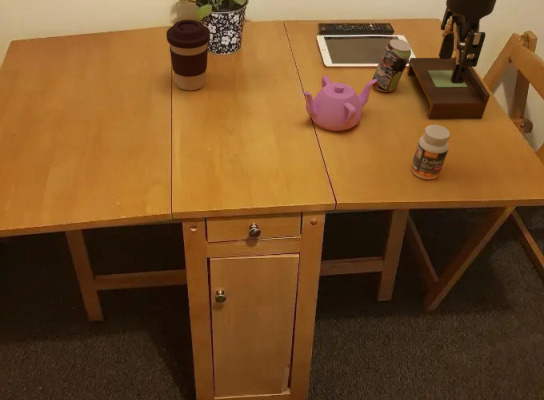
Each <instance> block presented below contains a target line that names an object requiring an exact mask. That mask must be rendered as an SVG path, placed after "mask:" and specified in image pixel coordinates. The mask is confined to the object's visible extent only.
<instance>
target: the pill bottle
mask: <svg viewBox="0 0 544 400" xmlns="http://www.w3.org/2000/svg"><path fill="white" fill-rule="evenodd" d="M450 136H451V131H450V130H449V129H448V128H446V127H445V126H443V125H440V124H439V125H438V124H429V125H426V127H424V131H423V135H421V137H420V138H419V139H418V141H417V145H416V148H415V151H414V155H413V159H412V162H411V166H410V170H411V172H412V174H414V175H415V176H416V177H418V178H419V179H423V180H433V179H434V180H435V179H436V178H438V177H440V174H441V172H442V169H443V167H444V163H445V160H446V157H447V154H448V152H449V149H450V144H449V142H448V141H449V140H450Z"/></svg>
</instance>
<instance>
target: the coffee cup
mask: <svg viewBox="0 0 544 400" xmlns="http://www.w3.org/2000/svg"><path fill="white" fill-rule="evenodd" d="M165 35H166V41H167V43H168V44H169V54H170V60H171V66H172V67H171V68H172V71H173V75H174V83H175V85H176V87H177V88H179V89H181V90H184V91H196V90H199V89H201V88H203V87H204V86H205V84H206V78H207V76H206V75H207V69H208V56H209V55H208V54H209V45H208V43H209V42H210V40H211V32H210V29H209V28H208V27H207V26H205V25H203V24H202V22H201V21H199V20H195V19H181V20H178V21H177V22H175V23H174V24H173V26H171V27H170V28H168V30H166V34H165Z"/></svg>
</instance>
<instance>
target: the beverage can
mask: <svg viewBox="0 0 544 400" xmlns="http://www.w3.org/2000/svg"><path fill="white" fill-rule="evenodd" d="M411 55H412V46H411V44H410V43H408V42H407V41H405V40H404V39H399V38H393V39H390V40H389V42H387V44H386V45H385V46H384V49H383V51H382V54H381V56H380V59H379V62H378V64H377V67H376V68H375V71H374V73H373V77H372V79H371V80H373V79H377V81H376V82H375V83H374V84H373V85H372V86H374V87H375V88H376V90H379V91H381V92H384V93H390V92H393V91H395V90H396V89H397V88H398V85H399V83H400V80H401V78H402V76H403V74H404V71H405V70H406V67H407V64H408V62H409V61H410V58H411Z"/></svg>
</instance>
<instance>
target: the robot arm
mask: <svg viewBox="0 0 544 400" xmlns="http://www.w3.org/2000/svg"><path fill="white" fill-rule="evenodd" d="M496 3H497V0H446V2H445V5H446V8H445V11H444V14H443V17H442V21H441V24H440V30H441V31H442V34H441V36H442V42H441V45H440V49H439V52H438V58H440V59H450V58H453V54H454V51H455V56H456V62H455V66H454V69H453V72H452V75H451V79H450V80H451V82H452V83H456V84H461V83H463V82H464V80H465V77H466V74H467V71H468V68H469V67H472V68H477V65H478V62H479V59H480V57H481V52H482V49H483V47H484V42H485V39H486V32H485V31H480V27H481V26H480V23H481V20H482V19H483V18H484V17H487V16H489V15H491V14H492V13H493V11H494V9H495V6H496ZM462 44H463V45H462ZM462 52H463V53H462Z"/></svg>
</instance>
